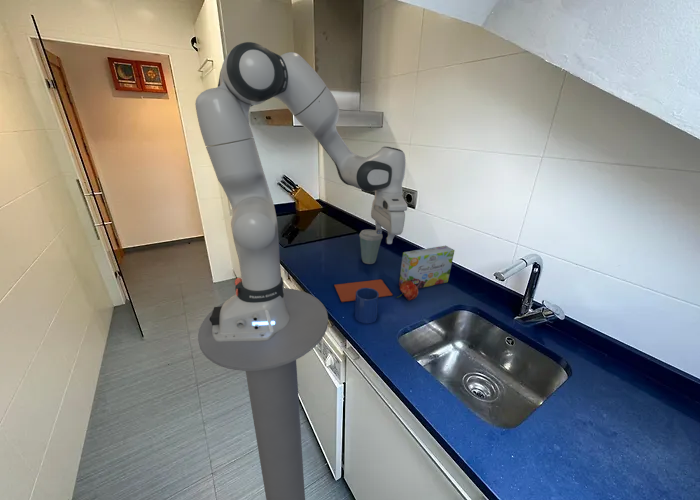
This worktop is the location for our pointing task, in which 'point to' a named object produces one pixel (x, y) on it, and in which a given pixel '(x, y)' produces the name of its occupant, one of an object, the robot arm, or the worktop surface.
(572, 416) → the worktop surface
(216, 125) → the robot arm
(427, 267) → the snack box
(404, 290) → the pomegranate
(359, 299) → the blue cup
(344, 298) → the red mat
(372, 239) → the disposable coffee cup
